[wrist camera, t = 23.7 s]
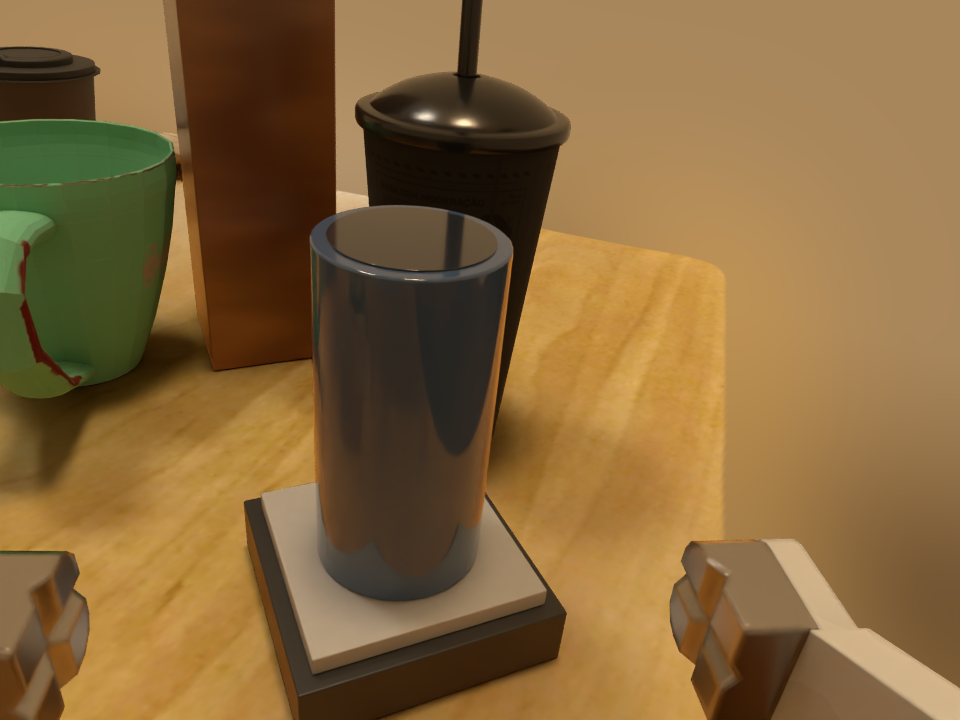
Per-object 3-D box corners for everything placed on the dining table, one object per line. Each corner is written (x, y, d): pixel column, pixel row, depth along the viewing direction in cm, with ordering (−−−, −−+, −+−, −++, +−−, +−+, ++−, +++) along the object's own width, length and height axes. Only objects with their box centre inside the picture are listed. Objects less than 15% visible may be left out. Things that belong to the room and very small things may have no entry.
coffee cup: (-31, 225, 48) (-74, 56, 43) (7, 185, 54) (-27, 35, 49) (109, 225, 50) (83, 64, 45) (129, 187, 56) (108, 43, 51)
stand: (213, 371, 36) (147, -278, 24) (197, 315, 40) (135, -252, 29) (337, 354, 38) (333, -244, 26) (309, 303, 43) (294, -225, 31)
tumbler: (342, 622, 21) (341, 288, 16) (299, 506, 25) (288, 208, 20) (505, 576, 23) (550, 266, 18) (442, 475, 27) (465, 198, 22)
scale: (300, 745, 20) (297, 682, 19) (247, 544, 26) (242, 486, 25) (558, 657, 23) (570, 598, 22) (457, 496, 30) (462, 442, 28)
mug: (1, 314, 39) (-50, 114, 34) (204, 310, 41) (185, 122, 36) (-123, 505, 26) (-230, 235, 21) (177, 482, 29) (142, 235, 24)
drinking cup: (551, 411, 35) (630, -81, 25) (480, 504, 29) (548, -97, 19) (410, 364, 38) (431, -100, 28) (317, 441, 32) (304, -118, 22)
